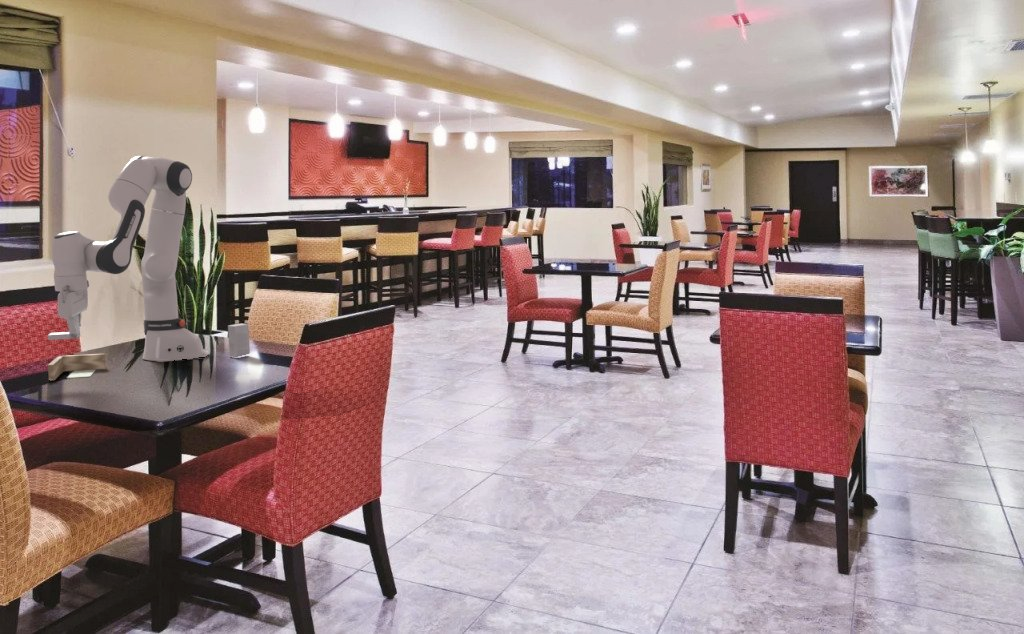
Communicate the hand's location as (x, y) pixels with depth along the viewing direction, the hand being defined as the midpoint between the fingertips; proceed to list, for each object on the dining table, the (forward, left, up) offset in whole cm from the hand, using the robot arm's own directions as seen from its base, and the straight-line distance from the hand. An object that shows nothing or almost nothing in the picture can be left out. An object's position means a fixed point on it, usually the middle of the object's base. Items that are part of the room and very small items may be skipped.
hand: (75, 328), depth 248 cm
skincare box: (-48, -26, -17) cm, 57 cm away
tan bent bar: (+2, -11, -17) cm, 20 cm away
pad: (+1, -11, -17) cm, 20 cm away
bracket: (+3, 0, -3) cm, 4 cm away
